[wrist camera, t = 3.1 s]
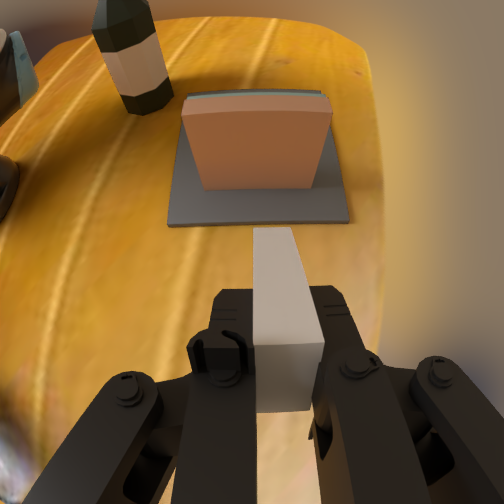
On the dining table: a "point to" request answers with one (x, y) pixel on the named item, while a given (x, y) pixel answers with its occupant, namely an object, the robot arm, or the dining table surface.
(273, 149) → the tile
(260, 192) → the mat
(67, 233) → the dining table surface
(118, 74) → the wine bottle
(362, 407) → the robot arm
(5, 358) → the dining table surface
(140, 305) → the dining table surface
